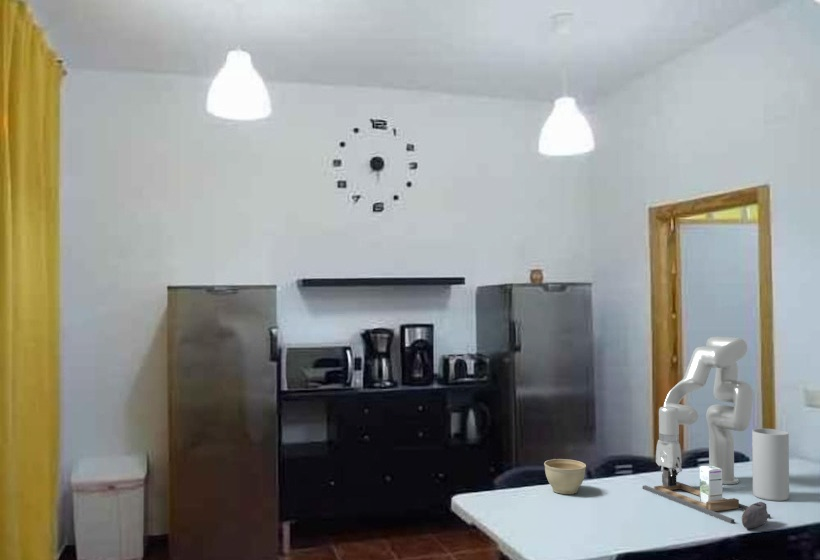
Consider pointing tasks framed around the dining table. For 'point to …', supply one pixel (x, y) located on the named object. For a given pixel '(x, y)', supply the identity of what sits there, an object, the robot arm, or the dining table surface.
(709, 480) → the syrup box
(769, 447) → the cylinder vase
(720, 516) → the guide rails
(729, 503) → the frame
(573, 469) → the planter bowl
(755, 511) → the perforated stone tool
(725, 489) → the dining table surface
